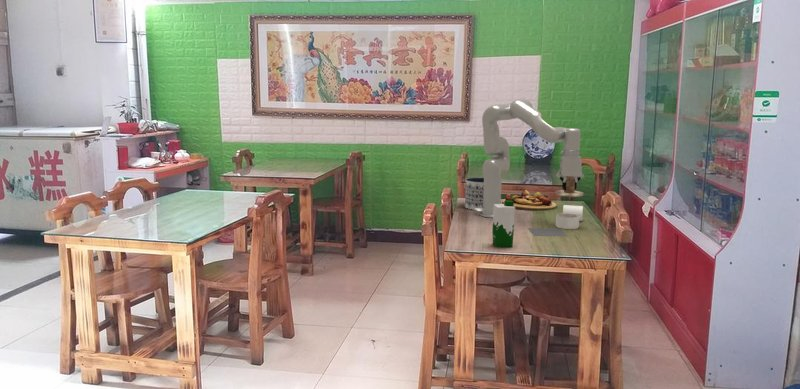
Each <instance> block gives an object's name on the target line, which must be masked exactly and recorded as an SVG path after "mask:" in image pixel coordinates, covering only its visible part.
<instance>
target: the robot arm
mask: <svg viewBox="0 0 800 389" xmlns="http://www.w3.org/2000/svg"><path fill="white" fill-rule="evenodd" d="M542 115H543V114H542V113H541V112H540V111H538V110H537V109H536V108H534V107H533V104H532V102H531V101H530V100H529V99H515V100H513V101H512V102H511V103H506V104H505V103H504V104H503V103H502V104H501V103H498V104H493V105H490V106H488V107H486V109H485V110H484V111H483V114H482V118H481V121H482V122H481V123H482V129H483V130H482V132H483V133H482V135H483V136H482V137H483V148H484V152H485V154H487V155H489V156H493V157H490V158H488V159H486V160H484V162H483V164H482V174H483V178H484V194H483V206H482V208H474V210H473V212H477V213H479V216H481V217H484V218H489V219H490V218H492V219H493V207H494V204H502V178H501V175H503V174H506V173H508V171H509V169H510V165H511V160H510V159H511V156H510V146H509V142H508V140H507V139H506V138H505V137H503V136H500V127H499V124H498V122H499V121H510V120H513V119H519V120H521V122H523V123H524V124H527V126H528V127H530V128H531V129H532V131H533V132H534V133H535V134H536V135H537V136H539V137H540V138H541V139H543V140H544V141H546V142H548V143H551V144H555V143H563V149H562V150H561V151H560V154H561V155H562V156H561V158H560V164H559V170H558V171H557V173H556V174H555V177H557V178H558V179H559V180H560V181H561V182H562V183H561V184H562V186H561V187H562V188H561V189H562V190H564V191H566V180H567V177H569V178H571V177H573V178H572V179H573V180H574V181H575V188H574V191H576V190H577V186H578V185H577V183H579V182H578V181H580V180H581V179H583V178H585V174H584V173H583V170H582V168H583V167H582V166H583V165H582V156H580V148H581V147H580V146H581V130H580V129H579V128H576V127H574V128H568V127H563V126H556V127H553V126H551V125H550V124H548V123H547V122H546V121H545V120H543V118H542Z"/></svg>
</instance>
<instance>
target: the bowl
mask: <svg viewBox="0 0 800 389" xmlns="http://www.w3.org/2000/svg"><path fill="white" fill-rule="evenodd" d="M579 217H580V216H578V215H575V214H569V213H563V212H561V213H557V214H555V227H556V228H557V229H563V230H564V229H565V230H575V229H579V228H580V227H579V226H580V221H579Z"/></svg>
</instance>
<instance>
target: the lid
mask: <svg viewBox="0 0 800 389" xmlns="http://www.w3.org/2000/svg"><path fill="white" fill-rule="evenodd" d="M574 188H575V181H574V179H566V191H564V190H563V189H559V190H555V191H554V195H556V196H558V197H560V196H561V197H568V198H577V197H579V198H580V197H583V196H584V193H585V192H583V191H579V190H575V191H574Z"/></svg>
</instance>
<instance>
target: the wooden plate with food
mask: <svg viewBox="0 0 800 389" xmlns="http://www.w3.org/2000/svg"><path fill="white" fill-rule="evenodd" d="M505 200H512V201H514V207H515V210H522V211H533V212H535V211H540V212H542V211H550V210H551V209H552V210H555V209H556V208H557V207H558V205H557V203H555V202H553V201H552V199H551V197H550V198H549V197H547V196H545V194H542V193H541V192H540V191H537V192H535V193H533V195H531V193H530V192H529V190H527V189H523V191H522V192H521V194H520V195H516V194H510V193H507V194H506V195H505V198H504V199H503V200H501V204H504V201H505Z"/></svg>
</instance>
